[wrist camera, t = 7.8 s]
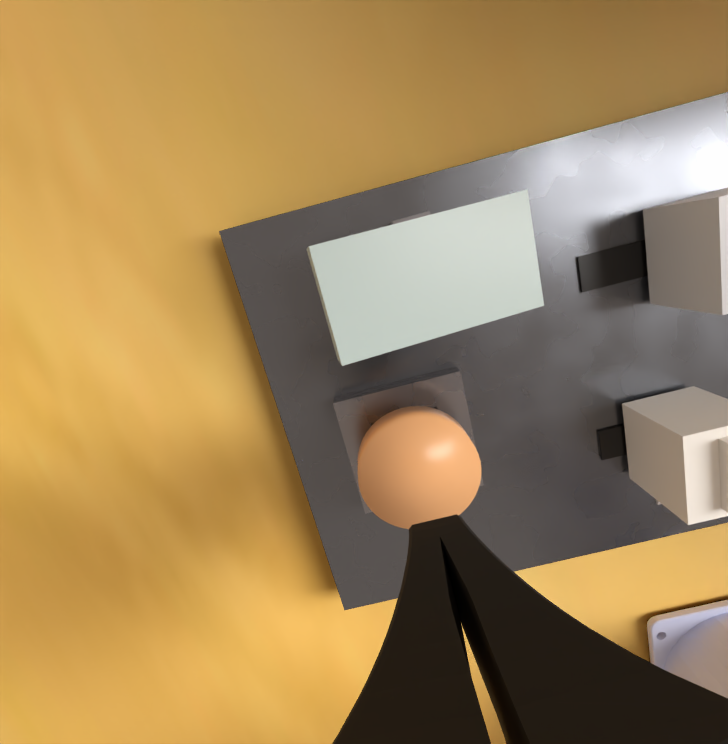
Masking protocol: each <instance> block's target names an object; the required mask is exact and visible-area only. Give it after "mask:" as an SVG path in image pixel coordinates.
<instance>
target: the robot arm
mask: <svg viewBox="0 0 728 744" xmlns="http://www.w3.org/2000/svg"><path fill="white" fill-rule="evenodd" d="M461 623H462V626H463V629H464V631H465V634H466V636H467V639H468V642H469V644H470V647H471V649H472V652H473V655H474V657H475V660H476V662H477V665H478V667H479V670H480V673H481V675H482V678H483V680H484V683H485V685H486V688H487V691H488V693H489V696H490V698H491V701H492V703H493V706H494V709H495V711H496V714H497V717H498V719H499V722H500V725H501V728H502V731H503V734H504V737H505V740H506V743H507V744H728V600H724V601H719V602H715V603H710V604H706V605H701V606H697V607H692V608H688V609H683V610H678V611H674V612H669V613H665V614H660V615H656V616H653V617H651V618H650V619H649V620H648V622H647V631H648V641H649V651H650V661H651V663H650V662H648V661H646V660H644V659H642V658H640V657H638V656H636V655H634V654H633V653H631V652H629V651H627V650H626V649H624V648H622V647H621V646H619V645H617V644H616V643H614V642H612V641H610V640H609V639H607V638H605V637H604V636H602V635H600V634H598V633H597V632H595V631H593V630H592V629H590V628H588V627H587V626H585V625H584V624H582V623H581V622H579V621H578V620H576V619H575V618H573V617H572V616H570V615H569V614H567V613H566V612H564V611H563V610H562V609H560V608H559V607H557V606H556V605H555V604H553V603H552V602H550V601H549V600H548V599H546V598H545V597H544V596H542V595H541V594H540V593H539V592H537V591H536V590H535V589H533V588H532V587H531V586H530V585H529V584H527V583H526V582H525V581H524V580H523V579H521V578H520V577H519V576H518V575H517V574H515V573H514V572H513V571H512V570H511V569H510V568H509V567H508V566H506V565H505V564H504V563H503V562H502V561H501V560H500V559H499V558H498V557H497V556H496V555H495V554H494V553H493V552H492V551H491V550H490V549H489V548H488V547H487V546H486V545H485V544H484V543H483V542H482V541H481V540H480V539H479V538H478V537H477V536H476V534H475V533H474V532H473V531H472V530H471V529H470V527H469V526H468V525H467V524H466V522H465V521H464V520H463V518H462V517H461V516H459V515H457V514H456V515H452V516H447V517H443V518H439V519H435V520H431V521H426V522H422V523H418V524H414V525H412V526H411V527H410V528H409V546H408V554H407V561H406V566H405V571H404V576H403V581H402V585H401V589H400V593H399V596H398V600H397V603H396V607H395V610H394V614H393V617H392V620H391V623H390V626H389V629H388V632H387V635H386V637H385V640H384V642H383V645H382V648H381V650H380V652H379V655H378V657H377V659H376V662H375V664H374V666H373V668H372V671H371V673H370V675H369V677H368V679H367V682H366V684H365V686H364V688H363V690H362V692H361V694H360V696H359V697H358V699H357V701H356V703H355V705H354V707H353V708H352V710H351V712H350V714H349V716H348V717H347V719H346V721H345V723H344V725H343V726H342V728H341V730H340V732H339V734H338V735H337V737H336V739H335V740H334V742H333V744H491V742H490V739H489V735H488V732H487V729H486V725H485V722H484V719H483V715H482V712H481V708H480V705H479V702H478V698H477V695H476V691H475V688H474V685H473V681H472V678H471V673H470V667H469V662H468V657H467V652H466V647H465V641H464V636H463V631H462V626H461Z"/></svg>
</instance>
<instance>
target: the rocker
mask: <svg viewBox="0 0 728 744" xmlns="http://www.w3.org/2000/svg"><path fill="white" fill-rule="evenodd" d="M307 253H308V256H309V260H310V264H311V267H312V271H313V274H314V278H315V281H316V285H317V288H318V292H319V295H320V299H321V303H322V306H323V310H324V313H325V317H326V320H327V324H328V327H329V331H330V334H331V338H332V342H333V345H334V349H335V352H336V356H337V359H338V361H339V362H340V364H341V365H342V366H344V365H347V364H351V363H354V362H358V361H361V360H364V359H368V358H371V357H374V356H378V355H381V354H384V353H388V352H391V351H394V350H398V349H401V348H404V347H408V346H411V345H414V344H418V343H421V342H424V341H428V340H431V339H434V338H438V337H441V336H444V335H448V334H451V333H454V332H458V331H461V330H464V329H468V328H471V327H474V326H478V325H481V324H484V323H488V322H491V321H494V320H498V319H501V318H505V317H508V316H511V315H515V314H518V313H521V312H525V311H528V310H531V309H535V308H538V307H541V306H544V301H543V294H542V287H541V280H540V273H539V266H538V259H537V252H536V245H535V238H534V231H533V224H532V217H531V210H530V203H529V196H528V189H527V190H523V191H520V192H516V193H512V194H508V195H504V196H500V197H497V198H493V199H489V200H485V201H481V202H477V203H473V204H470V205H466V206H462V207H458V208H454V209H450V210H447V211H443V212H439V213H435V214H431V215H427V216H423V217H420V218H416V219H412V220H408V221H404V222H400V223H397V224H393V225H389V226H385V227H381V228H377V229H373V230H370V231H366V232H362V233H358V234H354V235H350V236H347V237H343V238H339V239H335V240H331V241H327V242H323V243H320V244H316V245H312V246H308V248H307Z"/></svg>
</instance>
